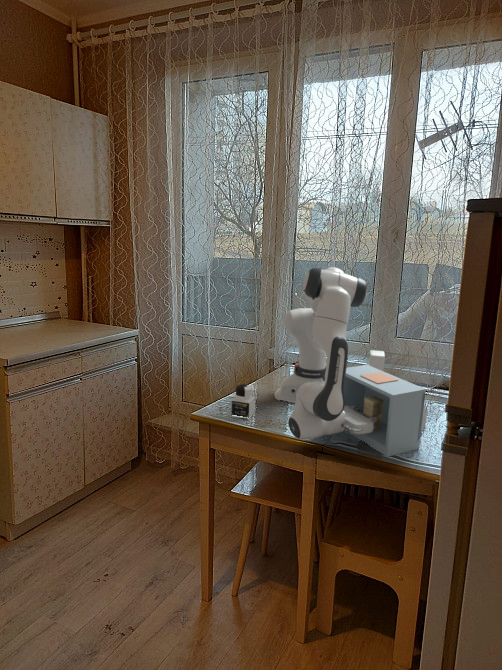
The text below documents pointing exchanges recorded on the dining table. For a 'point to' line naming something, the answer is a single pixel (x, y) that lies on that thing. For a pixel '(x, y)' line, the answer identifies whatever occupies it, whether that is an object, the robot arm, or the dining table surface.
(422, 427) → the tea bag
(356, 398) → the cubby
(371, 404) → the oak block
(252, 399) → the medicine bottle
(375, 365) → the skincare box
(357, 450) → the dining table surface
